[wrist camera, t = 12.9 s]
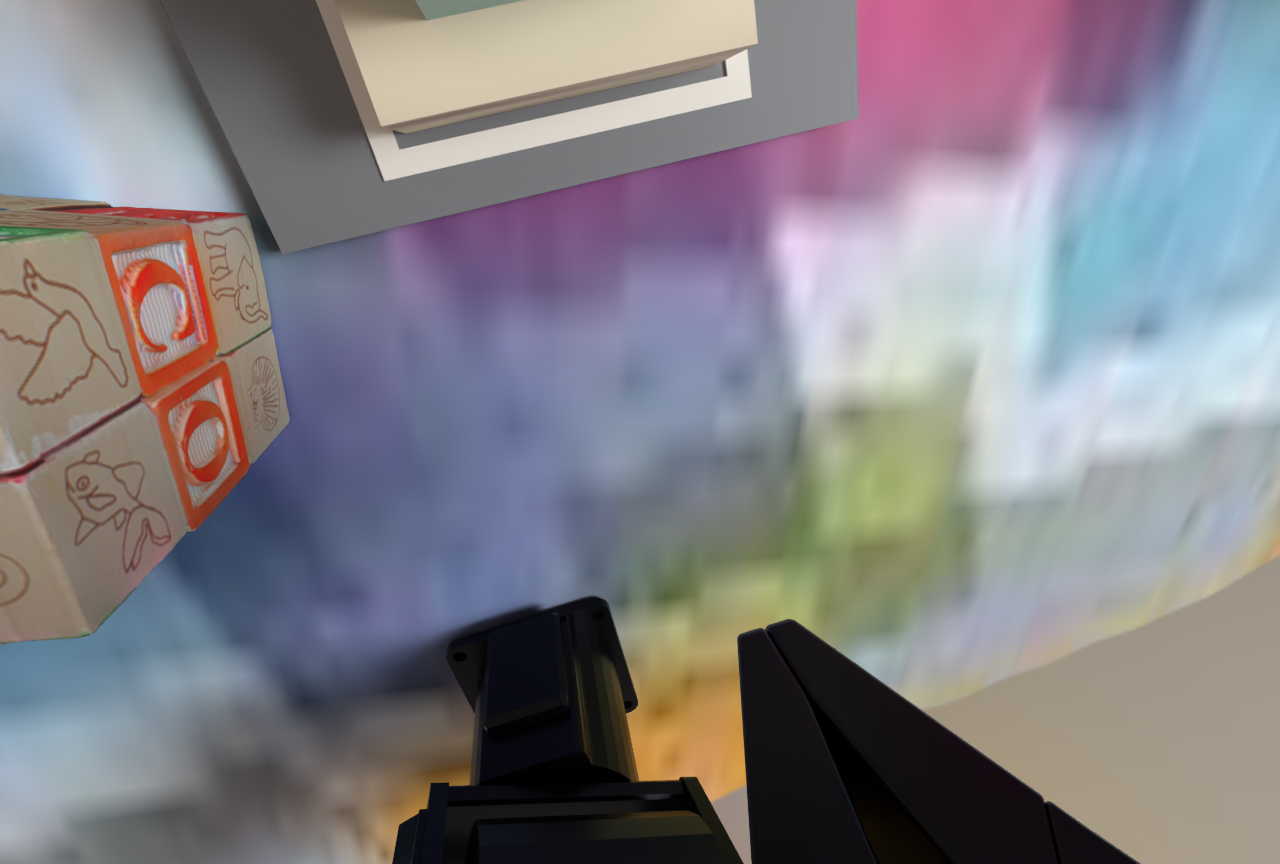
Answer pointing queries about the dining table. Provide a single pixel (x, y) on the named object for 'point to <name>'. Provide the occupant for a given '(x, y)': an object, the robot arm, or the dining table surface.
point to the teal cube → (456, 6)
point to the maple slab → (530, 52)
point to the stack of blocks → (121, 397)
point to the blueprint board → (492, 145)
